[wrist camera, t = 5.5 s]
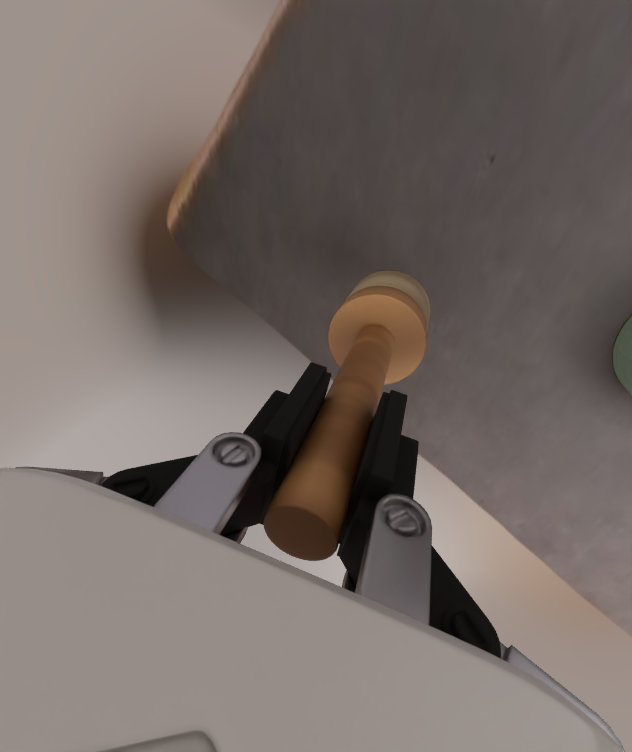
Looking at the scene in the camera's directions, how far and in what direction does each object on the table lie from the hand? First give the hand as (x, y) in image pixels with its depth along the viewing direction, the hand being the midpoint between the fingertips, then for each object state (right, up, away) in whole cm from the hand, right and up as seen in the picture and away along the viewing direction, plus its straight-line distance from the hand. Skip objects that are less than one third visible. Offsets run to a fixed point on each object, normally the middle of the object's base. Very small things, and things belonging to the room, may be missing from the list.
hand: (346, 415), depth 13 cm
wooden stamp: (+3, +5, +9) cm, 11 cm away
